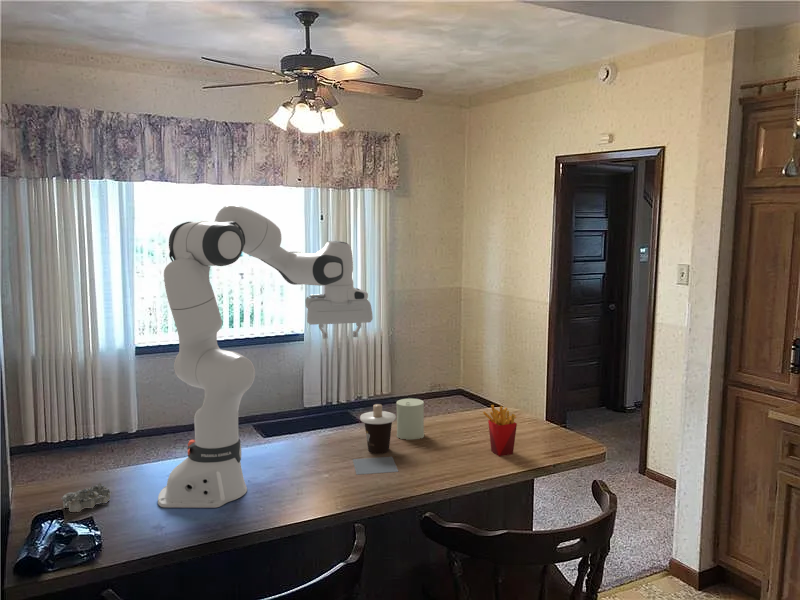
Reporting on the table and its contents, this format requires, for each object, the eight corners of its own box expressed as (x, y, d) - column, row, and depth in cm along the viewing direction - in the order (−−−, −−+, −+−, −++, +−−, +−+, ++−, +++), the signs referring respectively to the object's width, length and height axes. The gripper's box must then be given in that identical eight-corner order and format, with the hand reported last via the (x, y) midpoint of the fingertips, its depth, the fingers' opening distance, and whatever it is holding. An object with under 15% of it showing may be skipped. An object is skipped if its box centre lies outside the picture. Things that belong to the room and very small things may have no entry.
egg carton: (70, 516, 166) (69, 501, 165) (60, 507, 171) (59, 492, 171) (114, 503, 173) (113, 488, 173) (103, 494, 179) (101, 480, 178)
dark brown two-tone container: (392, 456, 204) (391, 424, 203) (363, 456, 204) (363, 424, 203) (393, 443, 216) (392, 413, 215) (366, 443, 216) (365, 413, 215)
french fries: (506, 447, 210) (506, 401, 209) (520, 456, 203) (520, 408, 201) (481, 451, 207) (481, 404, 205) (494, 460, 200) (494, 411, 198)
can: (393, 439, 220) (392, 403, 218) (401, 430, 228) (400, 396, 227) (420, 441, 217) (419, 405, 216) (427, 432, 226) (427, 397, 224)
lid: (362, 425, 202) (362, 411, 202) (358, 414, 213) (357, 401, 212) (398, 422, 204) (398, 409, 204) (392, 412, 215) (391, 399, 215)
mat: (356, 475, 189) (356, 474, 189) (352, 460, 201) (352, 459, 201) (398, 472, 191) (398, 471, 191) (392, 457, 203) (392, 456, 203)
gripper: (305, 295, 202) (306, 340, 204) (372, 293, 206) (373, 338, 207) (305, 293, 208) (306, 337, 210) (370, 291, 212) (371, 334, 213)
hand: (340, 337), depth 209 cm, fingers open, 8 cm apart
